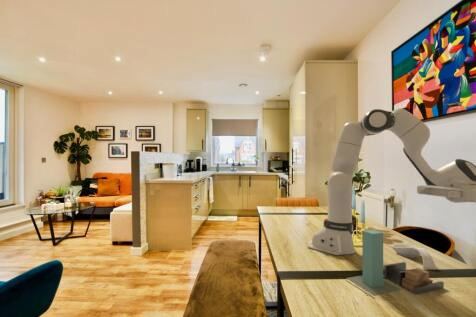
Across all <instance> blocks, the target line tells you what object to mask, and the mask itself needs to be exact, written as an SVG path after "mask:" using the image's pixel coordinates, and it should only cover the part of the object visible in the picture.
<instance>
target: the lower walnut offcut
mask: <svg viewBox="0 0 476 317" xmlns="http://www.w3.org/2000/svg"><path fill="white" fill-rule="evenodd" d="M430 283H434V280H433V279H431V278H429V280H426V281H423V282H420V283H417V284H416V283H414V282H412V281H409V280H407V279H405V278H402V286H404V287H405V288H407V289H409V290H411V291H413V287H416V286H420V285H425V284H430Z"/></svg>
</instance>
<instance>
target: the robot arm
mask: <svg viewBox="0 0 476 317" xmlns="http://www.w3.org/2000/svg"><path fill="white" fill-rule="evenodd" d="M383 131H389V132H391V133H394V135H395V136H396V137H398V139H399V140H401V142H402V144H403V149H402V150H403V153H404V155H405V156H406V158H407V159H408V161H409V162H410V163H411V164H412V166H413V167H414V168H415V170H416V171H417V172H418V173H419V175H420V176H421V177H422V179H423V180H424V183H425V185H424V184H420V185H417V186H416V193H417V194H419V195H426V196H434V197H435V196H436V197H441V198H445V199H446V200H448V201H449V202H452V203H455V204H457V203H458V204H459V203H476V165H475V164H474V163H472V162H471V161H469V160H465V159H461V158H457V159H455V160H453V161H449V162H448V163H446V164H445V165H443V166H441V167H438V168H437V169H433V168H432V167H431V166H430V164H429V163H428V162H427V161H426V159H425V158H424V157H423V155H422V150H423V148H424V147H425V146H426V144H427V143H428V141H429V140H430V137H431V131H430V128H429V127H428V125H426V123H425V122H423V121H422V120H421V119H420V118H419V117H417V116H416V115H414V114H412V113H411V112H410V111H408V110H407V109H404V108H396V109H394V110H392V111H389V110H385V109H379V108H377V109H376V108H375V109H371V110H370V111H368V112H366V113H365V114H364V115H363V117H362V118H361V119H360V121H357V122H355V121H350V122H349V121H348V122H346V123H344V125H343V126H342V128H341V131H340V133H339V135H338V138H337V139H338V140H337V142H336V147H335V152H334V154H333V155H334V156H333V157H332V158H333V160H332V164H331V168H330V173H329V177H327V181H326V182H327V183H326V185H327V186H326V187H327V188H326V189H327V217H325V218H324V220H323V226H322V227H321V228H319V229H317V230H315V231H314V233H313V234H312V237H311V239H310V240H309V241H308V242H307V245H306V246H307V248H308V249H312V250H315V251H319V252H324V253H327V254H331V255H334V256H340V255H341V256H342V255H351V254H354V253H356V248H355V244H354V239H353V238H354V237H353V234H354V225H353V224H354V223H353V220H352V219H353V216H352V215H353V214H352V212H353V178H354V174H355V171H356V168H357V164H358V161H359V157H360V153H361V149H362V144H363V141H364V139H365V137H368V136H375V135H378V134H381V133H383Z"/></svg>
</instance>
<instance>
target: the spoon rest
mask: <svg viewBox="0 0 476 317" xmlns="http://www.w3.org/2000/svg"><path fill="white" fill-rule="evenodd" d="M391 248H392V250H393V251H394V252H396V253H397V254H398V255H399V256H401V257H403V258H408V257H409V258H410V259H414V258H416V257H419V256H421V259H422V269H423V270H424V269H426V270H437V267H436V264H435V261H434V259H433V258H432V257H433V256H431V254H430V253H429V251H428V250H427V249H426V248H423V247H418V246H414V245H410V244H399V243H397V244H392V245H391ZM409 258H408V259H409Z"/></svg>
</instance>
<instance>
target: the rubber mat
mask: <svg viewBox="0 0 476 317" xmlns="http://www.w3.org/2000/svg"><path fill="white" fill-rule="evenodd" d="M345 281H346V282H347V283H349V284H350V285H351V286H354V287H355V288H356V289H358V290H360V291H362V293H364V294H366V295H368V296H369V297H371V298H373V300H375V299H376V297H375V296H380V295H384V294H389V293H393V292H398V291H402V290H403V288H402V289H401V287H400V288H399V287H398V286H397V285H394V284H392V283H390V282H388V281H387V280H386V279H385V280H384V279H383V285H382V286H377V287H370V286H369V285H367V284H365V283H364V282H362V281H363V274H362V275H357V276H351V277H350V276H349V277H346V280H345ZM361 288H362V289H361ZM370 294H371V295H370Z"/></svg>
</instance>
